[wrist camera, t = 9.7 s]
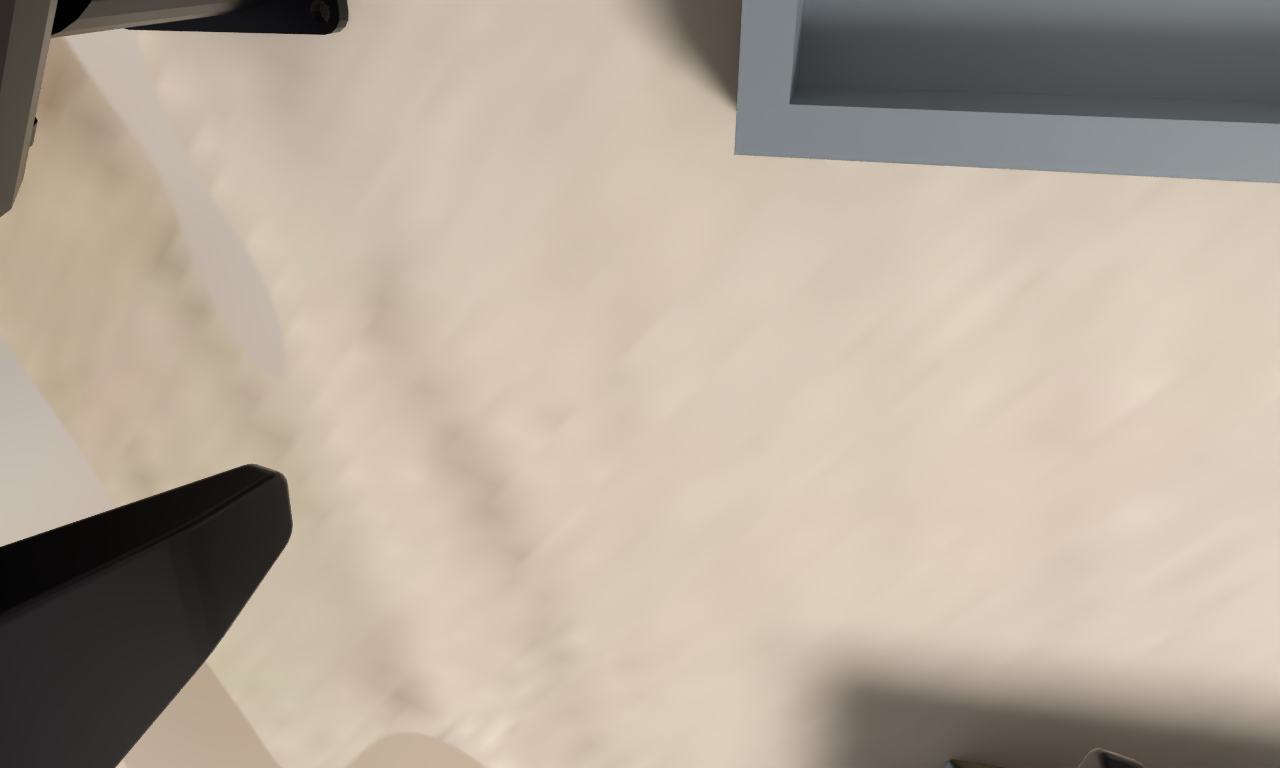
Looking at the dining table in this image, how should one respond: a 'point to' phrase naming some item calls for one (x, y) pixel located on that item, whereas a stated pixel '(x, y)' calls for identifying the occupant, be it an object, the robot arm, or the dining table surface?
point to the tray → (1016, 84)
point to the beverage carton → (966, 765)
